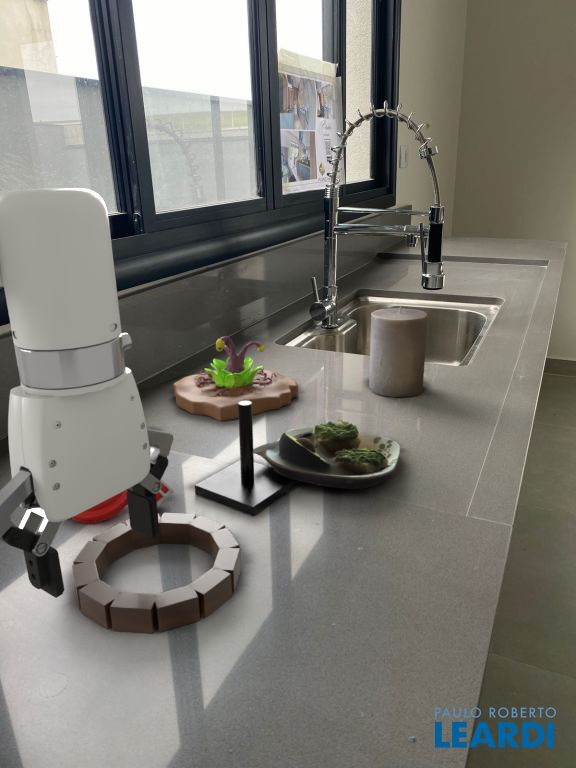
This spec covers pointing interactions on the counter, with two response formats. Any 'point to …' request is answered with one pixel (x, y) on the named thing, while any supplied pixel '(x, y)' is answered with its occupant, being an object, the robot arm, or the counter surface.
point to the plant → (233, 386)
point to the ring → (166, 606)
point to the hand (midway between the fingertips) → (100, 558)
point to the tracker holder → (117, 506)
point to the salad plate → (332, 456)
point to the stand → (246, 476)
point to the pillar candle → (397, 351)
